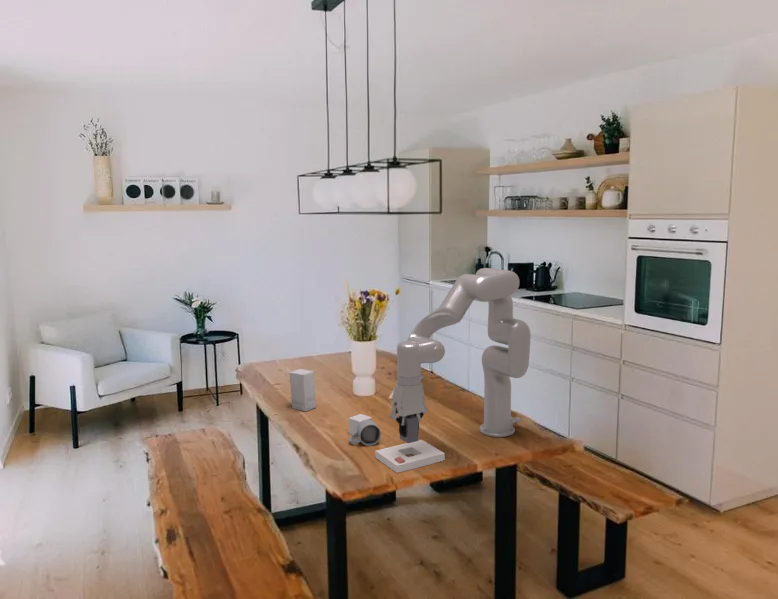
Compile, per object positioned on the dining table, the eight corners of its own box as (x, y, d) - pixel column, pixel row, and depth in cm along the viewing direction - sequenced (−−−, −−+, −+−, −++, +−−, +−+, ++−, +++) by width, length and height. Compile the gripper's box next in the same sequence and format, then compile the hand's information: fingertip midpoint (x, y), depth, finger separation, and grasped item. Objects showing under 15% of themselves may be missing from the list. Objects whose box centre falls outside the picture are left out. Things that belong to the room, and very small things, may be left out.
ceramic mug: (376, 436, 229) (375, 415, 227) (381, 444, 221) (380, 423, 219) (347, 439, 226) (346, 419, 225) (351, 448, 218) (350, 427, 217)
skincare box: (316, 408, 260) (315, 371, 257) (304, 412, 255) (303, 374, 252) (302, 404, 265) (301, 367, 262) (290, 408, 260) (289, 371, 257)
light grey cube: (372, 433, 232) (372, 417, 231) (360, 437, 227) (359, 421, 226) (361, 429, 236) (360, 413, 235) (349, 433, 232) (348, 417, 231)
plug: (410, 436, 210) (410, 408, 209) (418, 440, 206) (418, 412, 204) (399, 438, 208) (399, 410, 207) (408, 443, 204) (407, 414, 202)
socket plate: (421, 446, 219) (421, 437, 218) (444, 460, 207) (444, 451, 206) (375, 457, 210) (375, 448, 209) (397, 473, 198) (397, 463, 197)
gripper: (424, 373, 211) (424, 426, 214) (380, 381, 203) (381, 435, 206) (437, 378, 205) (436, 433, 208) (392, 386, 197) (392, 443, 199)
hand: (409, 433), depth 207 cm, fingers closed on plug, 4 cm apart
